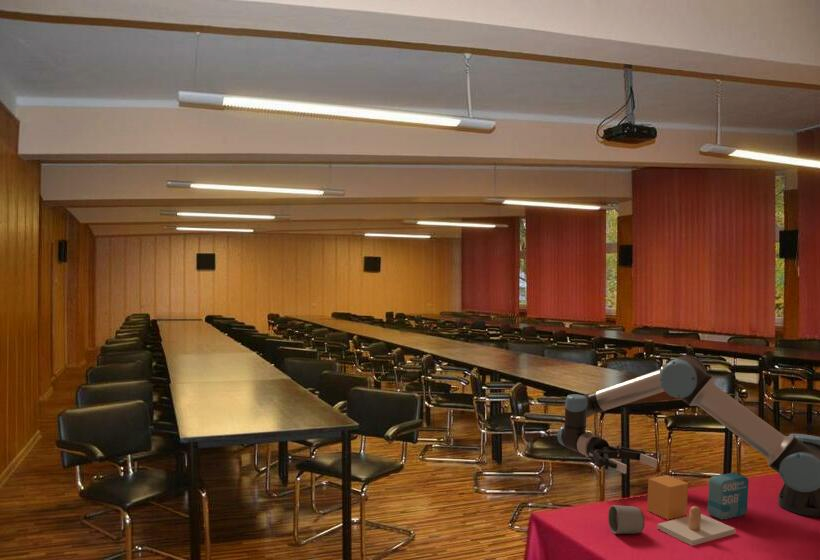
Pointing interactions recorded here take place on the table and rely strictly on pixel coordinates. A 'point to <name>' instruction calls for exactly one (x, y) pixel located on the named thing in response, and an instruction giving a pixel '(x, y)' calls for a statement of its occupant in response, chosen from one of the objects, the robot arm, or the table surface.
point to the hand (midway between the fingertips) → (641, 466)
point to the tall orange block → (667, 497)
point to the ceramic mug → (625, 519)
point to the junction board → (696, 536)
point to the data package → (728, 495)
